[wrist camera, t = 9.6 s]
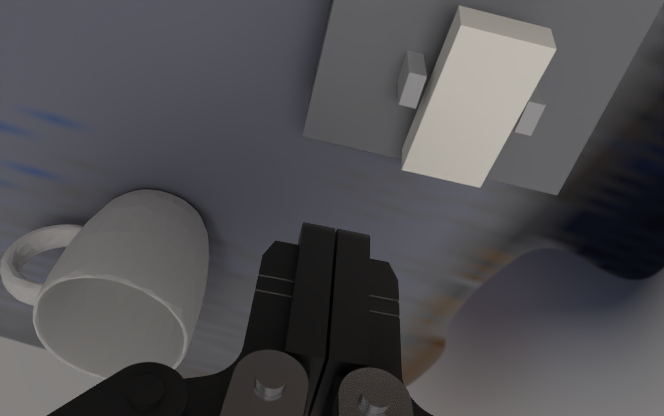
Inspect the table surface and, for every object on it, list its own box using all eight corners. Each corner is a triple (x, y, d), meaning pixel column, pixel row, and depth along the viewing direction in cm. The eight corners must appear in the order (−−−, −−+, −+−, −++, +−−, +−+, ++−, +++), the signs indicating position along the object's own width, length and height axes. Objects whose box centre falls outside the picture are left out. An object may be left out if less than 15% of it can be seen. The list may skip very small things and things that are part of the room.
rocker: (459, 5, 26) (460, 24, 25) (550, 28, 26) (556, 49, 25) (402, 148, 31) (401, 170, 30) (478, 166, 32) (480, 187, 31)
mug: (224, 181, 41) (187, 287, 33) (222, 281, 46) (189, 393, 38) (30, 155, 41) (-56, 255, 33) (50, 258, 46) (-20, 366, 38)
